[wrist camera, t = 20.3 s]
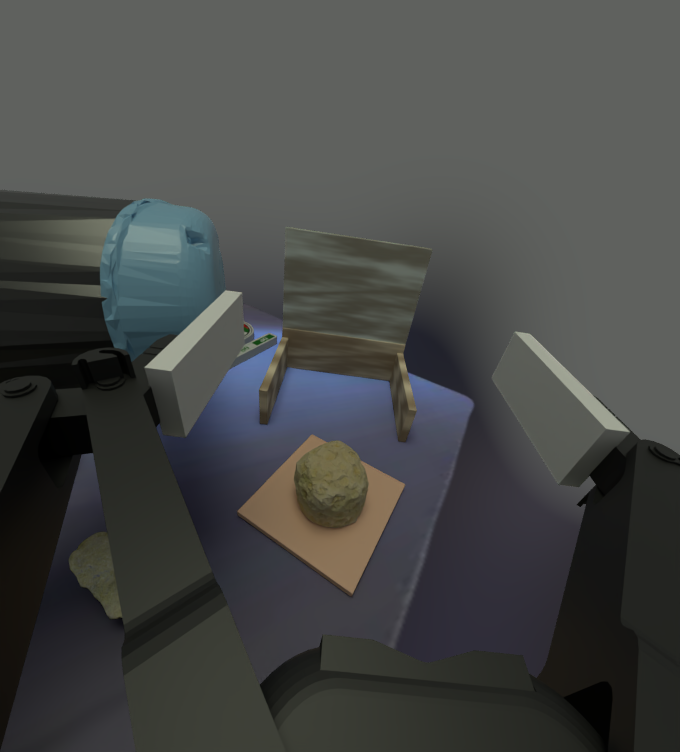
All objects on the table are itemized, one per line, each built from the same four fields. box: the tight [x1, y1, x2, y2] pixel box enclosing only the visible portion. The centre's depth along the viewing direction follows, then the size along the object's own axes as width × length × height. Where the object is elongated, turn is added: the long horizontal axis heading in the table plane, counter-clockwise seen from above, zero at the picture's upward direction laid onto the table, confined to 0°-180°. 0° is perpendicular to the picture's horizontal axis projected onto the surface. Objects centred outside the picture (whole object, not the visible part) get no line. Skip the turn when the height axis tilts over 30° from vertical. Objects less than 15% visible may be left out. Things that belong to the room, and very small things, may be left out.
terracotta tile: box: [237, 435, 405, 597], centre depth 41 cm, size 16×16×1 cm
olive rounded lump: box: [294, 441, 369, 528], centre depth 39 cm, size 9×10×10 cm
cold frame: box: [259, 227, 432, 442], centre depth 51 cm, size 19×24×27 cm
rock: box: [69, 532, 122, 619], centre depth 29 cm, size 11×6×10 cm
